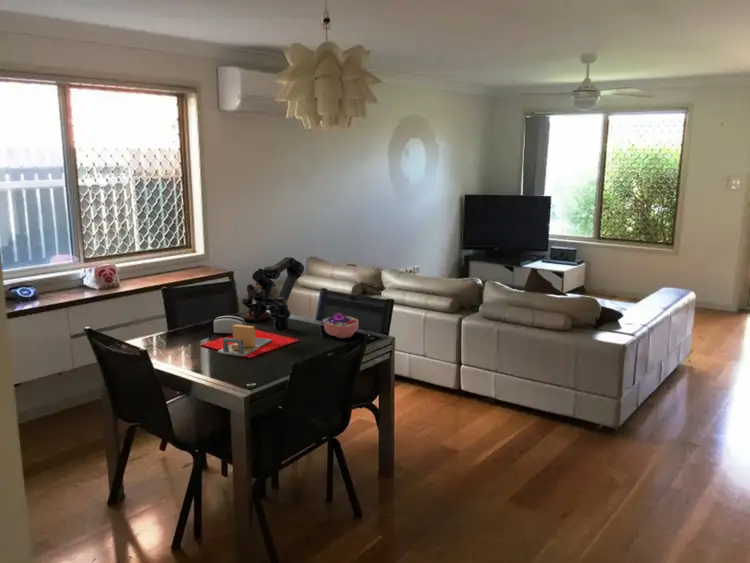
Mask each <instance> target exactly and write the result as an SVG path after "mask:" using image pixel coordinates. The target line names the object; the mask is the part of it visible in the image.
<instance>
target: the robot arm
mask: <svg viewBox="0 0 750 563" xmlns="http://www.w3.org/2000/svg"><path fill="white" fill-rule="evenodd" d="M284 271H286V274H287V276H286V279H285V281H284V283H283V285H282V287H281V290H280V293H279V294H278V297H275V298H271V297H272V293H271V292H272V290H273V287H274V288H275V287H276V284H275V281H274V280H278V279H279V277H281V273H283V272H284ZM304 271H305V266H304V265H303V263H301V261H299V260H296V259H295V258H294V257H291V256H290V257H289V256H286V257H283V259H282V260H280V261H278V262H277V263H275V264H274V265H269V266H265V267H264V268H258V269H257V270H256V271H254V272H253V273H252V276H251V277H252V279H253V281H254V282H255V284H256V283H257V284H258V285H259V286H260V289H259V290H257V291H256V290H249V297H253V299H250V298H248V297H247V298H246V297H245V298H242V300H241V301H242V302H241V304H243V305H244V306H245V307H246V308H248V309H249V308H253V309H254V319H255V320H254V321H256V320H257V319H258V318H259V317H260V316H261V315H262V314H263V313H264V312H266V311H267V312H268V311H269V313H270V318H273V321H272V323H273V324H272V326H273V327H272V329H274V330H276V331H277V332H278V331H284V330H289V329H290V327H289V326H288V325H289V323H288V321H289V320H288V319H289V318H290V317H291V311H290V310H289V309H288V307H289V306H288V300H289V298H290V296H291V293H292V292H293V288H294V285H295V283H296V282H297V280H298V279H299V278H301V277H302V275H303V273H304Z"/></svg>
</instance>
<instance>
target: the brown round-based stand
mask: <svg viewBox="0 0 750 563" xmlns="http://www.w3.org/2000/svg"><path fill="white" fill-rule="evenodd" d="M259 289H260V286H259V285H258V284H257V283H256V282H255V285H253V284H251V283H249V284H248V285H247V286H246V292H247V298H250V299H252V300H254V299H253V297H249V290H256V291H257V290H259ZM242 318H243V319H244V321H245V320H247V321H255V322H256V323H259V321H262V320H263V321H264V320H266V319H270V318H271V314H270V311H269V312H268V310H267V311H266V312H264V313H263V314H262V315H261V316H260V317H259V318H258V319H257V320H255V319H254V309H253V308H248V311H246V312H245V313H244V314H242Z"/></svg>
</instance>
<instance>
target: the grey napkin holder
mask: <svg viewBox="0 0 750 563" xmlns="http://www.w3.org/2000/svg"><path fill="white" fill-rule="evenodd" d="M236 324H238V325H246V322H245V320H244V319H243V317H239V316H235V315H223V316H218V317H215V319H214V320H213V333H215V334H233V327H232V326H233V325H236Z"/></svg>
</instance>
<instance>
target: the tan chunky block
mask: <svg viewBox="0 0 750 563" xmlns="http://www.w3.org/2000/svg"><path fill="white" fill-rule="evenodd" d="M232 327H233V333H232V338H233V339H241V340H243V344H244V347H246V346H249V347H253V346H255V345H256V344H255V337H256V331H255V330H256V328H255V325H238V324H236V325H233V326H232ZM231 344H232V345H231ZM231 344H230V345H231V347H232V349H235V350H238V343H231Z"/></svg>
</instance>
